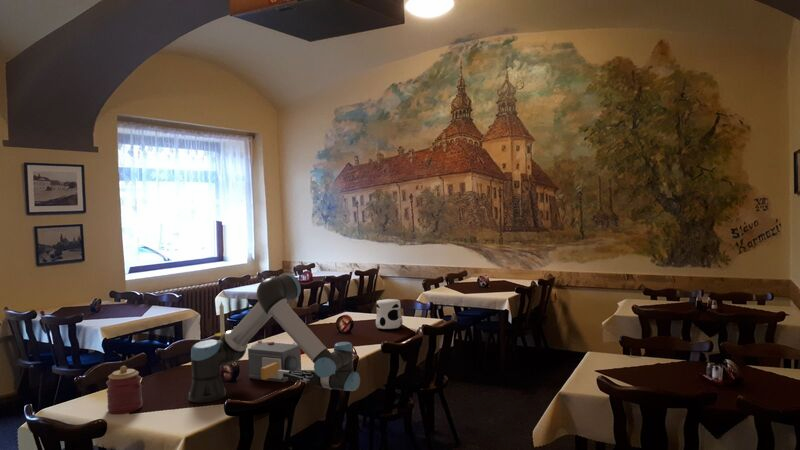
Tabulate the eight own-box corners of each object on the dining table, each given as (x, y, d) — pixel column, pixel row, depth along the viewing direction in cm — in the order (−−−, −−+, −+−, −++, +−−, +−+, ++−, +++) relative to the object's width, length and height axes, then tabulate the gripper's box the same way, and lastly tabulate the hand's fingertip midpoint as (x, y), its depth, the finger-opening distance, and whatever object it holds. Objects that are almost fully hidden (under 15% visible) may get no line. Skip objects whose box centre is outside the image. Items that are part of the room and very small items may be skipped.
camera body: (285, 383, 261) (284, 351, 260) (248, 378, 270) (246, 347, 270) (304, 374, 274) (303, 343, 274) (267, 370, 284) (266, 340, 283)
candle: (213, 366, 294) (210, 303, 292) (214, 361, 303) (211, 300, 302) (233, 364, 296) (231, 301, 295) (234, 359, 306) (231, 299, 305)
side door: (265, 386, 251) (264, 365, 250) (247, 383, 255) (246, 363, 255) (281, 378, 261) (281, 358, 261) (264, 376, 266) (263, 356, 265)
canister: (148, 402, 241) (146, 361, 240) (134, 413, 228) (132, 369, 227) (116, 404, 240) (114, 362, 240) (101, 415, 227) (99, 371, 227)
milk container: (372, 327, 375) (372, 300, 375) (398, 324, 381) (397, 298, 380) (380, 332, 359) (379, 304, 358) (406, 330, 364) (405, 301, 363)
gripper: (316, 392, 234) (269, 386, 244) (333, 382, 245) (288, 377, 256) (315, 374, 233) (269, 368, 244) (332, 365, 245) (287, 360, 255)
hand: (278, 373), depth 250 cm, fingers closed
